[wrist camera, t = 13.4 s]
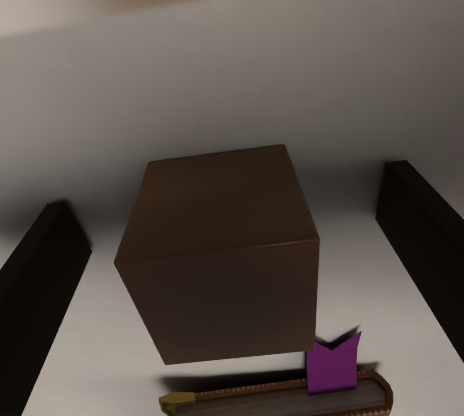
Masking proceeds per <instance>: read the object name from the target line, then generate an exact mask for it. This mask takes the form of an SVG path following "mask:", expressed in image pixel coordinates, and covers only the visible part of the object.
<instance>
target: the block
mask: <svg viewBox="0 0 464 416" xmlns="http://www.w3.org/2000/svg"><path fill="white" fill-rule="evenodd" d="M319 246H320V238H319V235H318V232H317V230H316V227H315V224H314V222H313V219H312V216H311V213H310V211H309V208H308V205H307V203H306V200H305V197H304V195H303V192H302V189H301V186H300V184H299V181H298V178H297V176H296V173H295V170H294V168H293V165H292V162H291V159H290V157H289V154H288V151H287V149H286V146H285V145H277V146H270V147H262V148H255V149H247V150H239V151H232V152H224V153H217V154H209V155H202V156H194V157H187V158H179V159H172V160H164V161H156V162H150V163H148V166H147V169H146V172H145V174H144V177H143V180H142V183H141V186H140V189H139V192H138V195H137V197H136V200H135V203H134V206H133V209H132V212H131V215H130V217H129V220H128V223H127V226H126V229H125V232H124V235H123V238H122V240H121V243H120V246H119V249H118V252H117V255H116V258H115V260H114V265H115V267H116V269H117V271H118V272H119V274H120V276H121V278H122V280H123V282H124V284H125V286H126V288H127V290H128V292H129V294H130V296H131V298H132V300H133V302H134V304H135V306H136V308H137V310H138V312H139V314H140V316H141V318H142V320H143V322H144V324H145V326H146V328H147V330H148V332H149V334H150V336H151V338H152V340H153V342H154V344H155V346H156V348H157V350H158V352H159V354H160V356H161V358H162V360H163V362H164V364H165V365H171V364H181V363H191V362H201V361H211V360H221V359H231V358H241V357H251V356H261V355H271V354H280V353H290V352H300V351H310V350H314V349H315V330H316V309H317V288H318V267H319Z"/></svg>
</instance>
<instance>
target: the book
mask: <svg viewBox="0 0 464 416" xmlns="http://www.w3.org/2000/svg"><path fill="white" fill-rule="evenodd" d="M361 332H362V331H361ZM361 332H359V333H358V334H356V335H354V336H353V337H351V338H349V339H348V340H346V341H344V342H343V343H341V344H340V345H338V346H336V347H335V348H333V349H329V348H327V347H325V346H323V345H321V344H319V343H317V342H315V349H314V350H310V351H307V378H305V379H298V380H290V381H283V382H275V383H268V384H260V385H253V386H245V387H238V388H230V389H223V390H216V391H208V392H201V393H192V392H172V393H169V394H167V395H164V396H162V397H159V403H160V407H161V410H162V411H163V412H164V413H165V414H167V415H168V416H389V414H390V412H391V409H392V405H393V391H392V389H391V387H390V385H389V383H388V382H387V381H386V380H385V379H384V378H383V377H382V376H381V375H379V374H378V373H377V372H375V371H374V370H373V369H372V370H365V371H357V372H356V360H357V346H358V343H359V339H360V336H361Z"/></svg>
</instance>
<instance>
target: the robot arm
mask: <svg viewBox="0 0 464 416" xmlns="http://www.w3.org/2000/svg"><path fill="white" fill-rule="evenodd" d="M375 220H376V221H377V223H378V224H379V226H380V228H381V229H382V231H383V233H384V234H385V236H386V237H387V239H388V241H389V242H390V244H391V246H392V247H393V249H394V250H395V252H396V254H397V255H398V257H399V259H400V260H401V262H402V263H403V265H404V267H405V268H406V270H407V272H408V273H409V275H410V276H411V278H412V280H413V281H414V283H415V285H416V286H417V288H418V290H419V291H420V293H421V294H422V296H423V298H424V299H425V301H426V303H427V304H428V306H429V307H430V309H431V311H432V312H433V314H434V316H435V317H436V319H437V320H438V322H439V324H440V325H441V327H442V329H443V330H444V332H445V333H446V335H447V337H448V338H449V340H450V342H451V343H452V345H453V346H454V348H455V350H456V351H457V353H458V355H459V356H460V358H461V359H462V361H463V363H464V219H463V218H462V217H461V216H460V215H459V214H458V213H457V212H456V211H455V210H454V209H453V208H452V207H451V206H450V205H449V204H448V203H447V202H446V201H445V200H444V199H443V198H442V197H441V195H440V194H439V193H438V192H437V191H436V190H435V189H434V188H433V187H432V186H431V185H430V184H429V183H428V182H427V181H426V180H425V179H424V178H423V177H422V176H421V175H420V174H419V173H418V171H417V170H416V169H415V168H414V167H413V166H412V165H411V164H410V163H409V162H408V161H407V160H402V161H394V162H386V164H385V169H384V175H383V180H382V185H381V190H380V196H379V201H378V206H377V212H376V217H375ZM91 253H92V250H91V248H90V246H89V244H88V242H87V240H86V238H85V236H84V235H83V233H82V231H81V229H80V227H79V225H78V223H77V222H76V220H75V218H74V216H73V214H72V212H71V210H70V208H69V207H68V205H67V203H66V202H58V203H50V204H46V206H45V207H44V209H43V210H42V212H41V213H40V214H39V216H38V217H37V219H36V220H35V221H34V223H33V224H32V226H31V227H30V229H29V230H28V231H27V233H26V234H25V236H24V237H23V238H22V240H21V241H20V243H19V244H18V245H17V247H16V248H15V250H14V251H13V253H12V254H11V255H10V257H9V258H8V260H7V261H6V262H5V264H4V265H3V267H2V268H1V270H0V416H21V415H22V413H23V411H24V408H25V406H26V404H27V401H28V399H29V397H30V394H31V392H32V390H33V387H34V385H35V383H36V381H37V378H38V376H39V374H40V371H41V369H42V367H43V364H44V362H45V360H46V357H47V355H48V353H49V351H50V348H51V346H52V344H53V341H54V339H55V337H56V334H57V332H58V330H59V327H60V325H61V323H62V320H63V318H64V316H65V314H66V311H67V309H68V307H69V304H70V302H71V300H72V297H73V295H74V293H75V290H76V288H77V286H78V283H79V281H80V279H81V277H82V274H83V272H84V270H85V267H86V265H87V263H88V260H89V258H90V256H91Z"/></svg>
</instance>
